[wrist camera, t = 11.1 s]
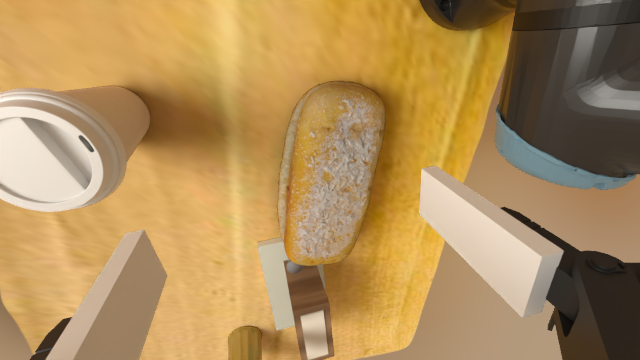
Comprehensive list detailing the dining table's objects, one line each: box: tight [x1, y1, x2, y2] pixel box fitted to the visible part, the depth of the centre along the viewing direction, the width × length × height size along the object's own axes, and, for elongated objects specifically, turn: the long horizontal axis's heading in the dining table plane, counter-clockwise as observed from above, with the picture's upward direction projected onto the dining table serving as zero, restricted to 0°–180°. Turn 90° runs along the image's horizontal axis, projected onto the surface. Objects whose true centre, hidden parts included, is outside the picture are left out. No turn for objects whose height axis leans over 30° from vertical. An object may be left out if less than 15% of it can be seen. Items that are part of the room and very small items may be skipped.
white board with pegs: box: [257, 237, 326, 330], centre depth 48 cm, size 10×20×6 cm, turn 5°
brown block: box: [283, 260, 334, 360], centre depth 45 cm, size 12×5×10 cm, turn 5°
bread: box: [277, 81, 385, 266], centre depth 39 cm, size 13×26×8 cm, turn 173°
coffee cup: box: [0, 86, 150, 212], centre depth 26 cm, size 10×10×15 cm
